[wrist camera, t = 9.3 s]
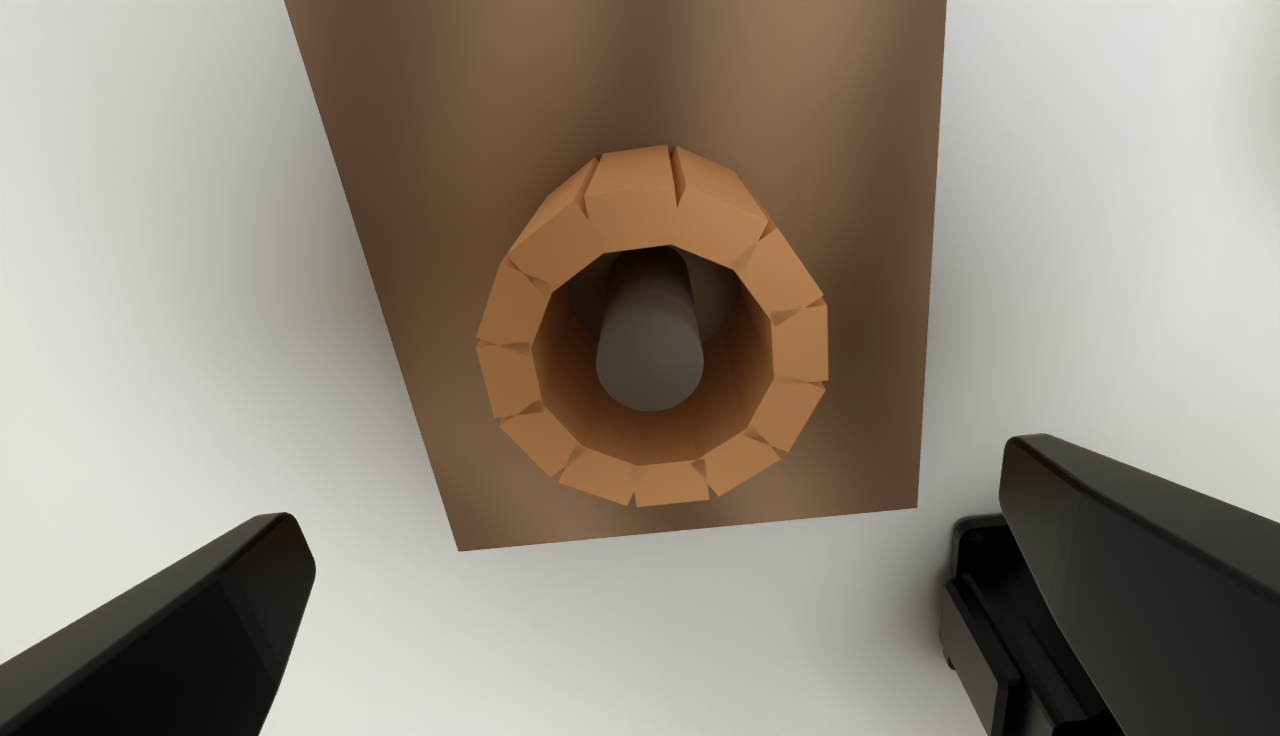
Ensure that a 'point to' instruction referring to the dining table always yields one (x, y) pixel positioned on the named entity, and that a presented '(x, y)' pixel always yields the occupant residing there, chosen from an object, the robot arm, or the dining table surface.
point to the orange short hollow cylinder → (733, 358)
